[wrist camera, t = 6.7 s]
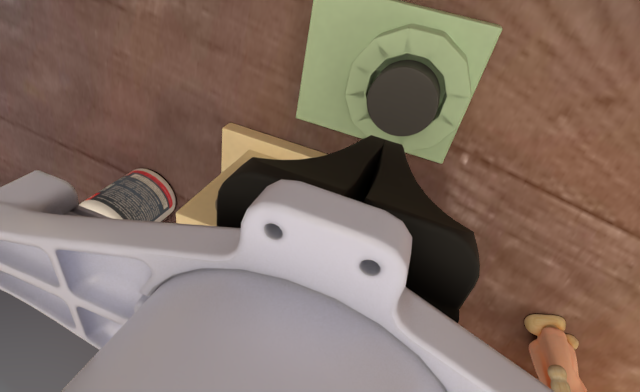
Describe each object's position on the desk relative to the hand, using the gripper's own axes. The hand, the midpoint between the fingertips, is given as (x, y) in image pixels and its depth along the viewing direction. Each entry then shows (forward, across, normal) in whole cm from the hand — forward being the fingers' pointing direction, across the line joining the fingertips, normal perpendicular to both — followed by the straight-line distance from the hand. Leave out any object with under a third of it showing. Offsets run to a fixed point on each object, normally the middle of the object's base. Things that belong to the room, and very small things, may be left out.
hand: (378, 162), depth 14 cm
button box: (+10, +2, 0) cm, 10 cm away
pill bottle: (+10, +20, +16) cm, 28 cm away
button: (+8, 0, 0) cm, 8 cm away
